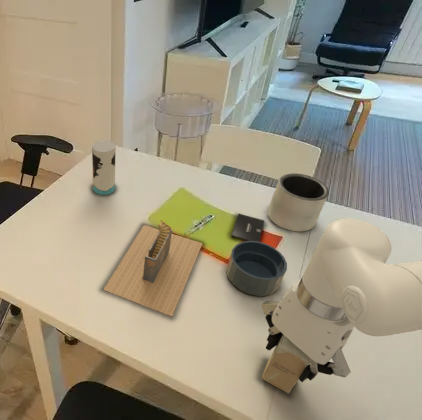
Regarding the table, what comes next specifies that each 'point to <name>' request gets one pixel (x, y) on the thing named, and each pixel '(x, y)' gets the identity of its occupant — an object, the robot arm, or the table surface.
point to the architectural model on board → (155, 269)
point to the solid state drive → (247, 228)
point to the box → (285, 365)
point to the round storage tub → (256, 268)
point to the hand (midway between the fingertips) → (288, 360)
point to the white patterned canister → (103, 167)
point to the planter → (297, 202)
